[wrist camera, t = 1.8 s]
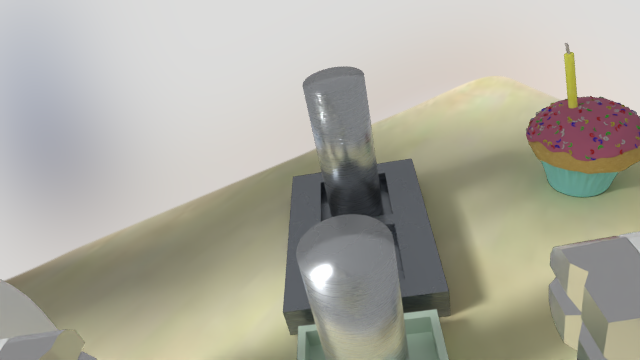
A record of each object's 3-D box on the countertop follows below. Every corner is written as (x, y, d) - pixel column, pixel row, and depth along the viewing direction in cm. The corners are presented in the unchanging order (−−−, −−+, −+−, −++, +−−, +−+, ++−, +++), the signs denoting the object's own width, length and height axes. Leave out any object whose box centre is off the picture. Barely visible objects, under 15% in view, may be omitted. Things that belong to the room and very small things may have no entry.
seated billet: (331, 228, 42) (301, 98, 35) (330, 196, 46) (303, 72, 39) (385, 221, 41) (366, 87, 35) (379, 188, 45) (361, 62, 38)
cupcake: (512, 198, 43) (517, 64, 36) (539, 145, 48) (549, 21, 41) (628, 222, 38) (660, 75, 31) (645, 162, 43) (675, 24, 37)
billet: (339, 436, 28) (294, 288, 22) (336, 365, 32) (297, 221, 25) (420, 428, 28) (400, 275, 21) (408, 357, 31) (387, 208, 25)
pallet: (290, 334, 35) (283, 312, 34) (298, 197, 48) (292, 176, 47) (450, 315, 34) (448, 291, 33) (413, 179, 47) (411, 158, 46)
